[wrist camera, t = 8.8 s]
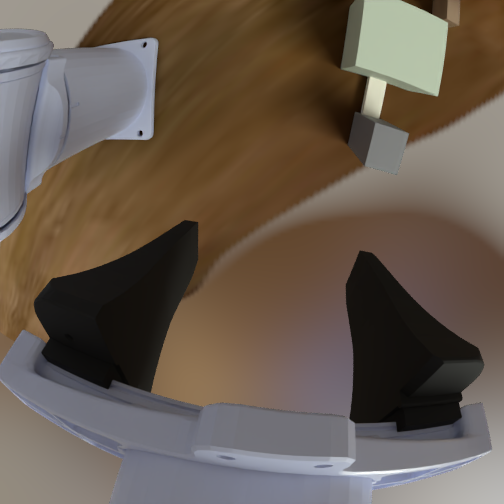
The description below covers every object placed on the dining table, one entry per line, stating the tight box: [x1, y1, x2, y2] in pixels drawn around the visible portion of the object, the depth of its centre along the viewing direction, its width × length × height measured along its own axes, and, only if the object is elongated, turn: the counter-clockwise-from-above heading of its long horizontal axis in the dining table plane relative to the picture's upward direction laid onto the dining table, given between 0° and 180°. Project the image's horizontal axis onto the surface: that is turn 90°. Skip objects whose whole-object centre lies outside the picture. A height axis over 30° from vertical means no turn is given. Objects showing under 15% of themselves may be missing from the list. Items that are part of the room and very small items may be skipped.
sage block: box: [341, 0, 448, 175], centre depth 12 cm, size 10×5×5 cm, turn 173°
